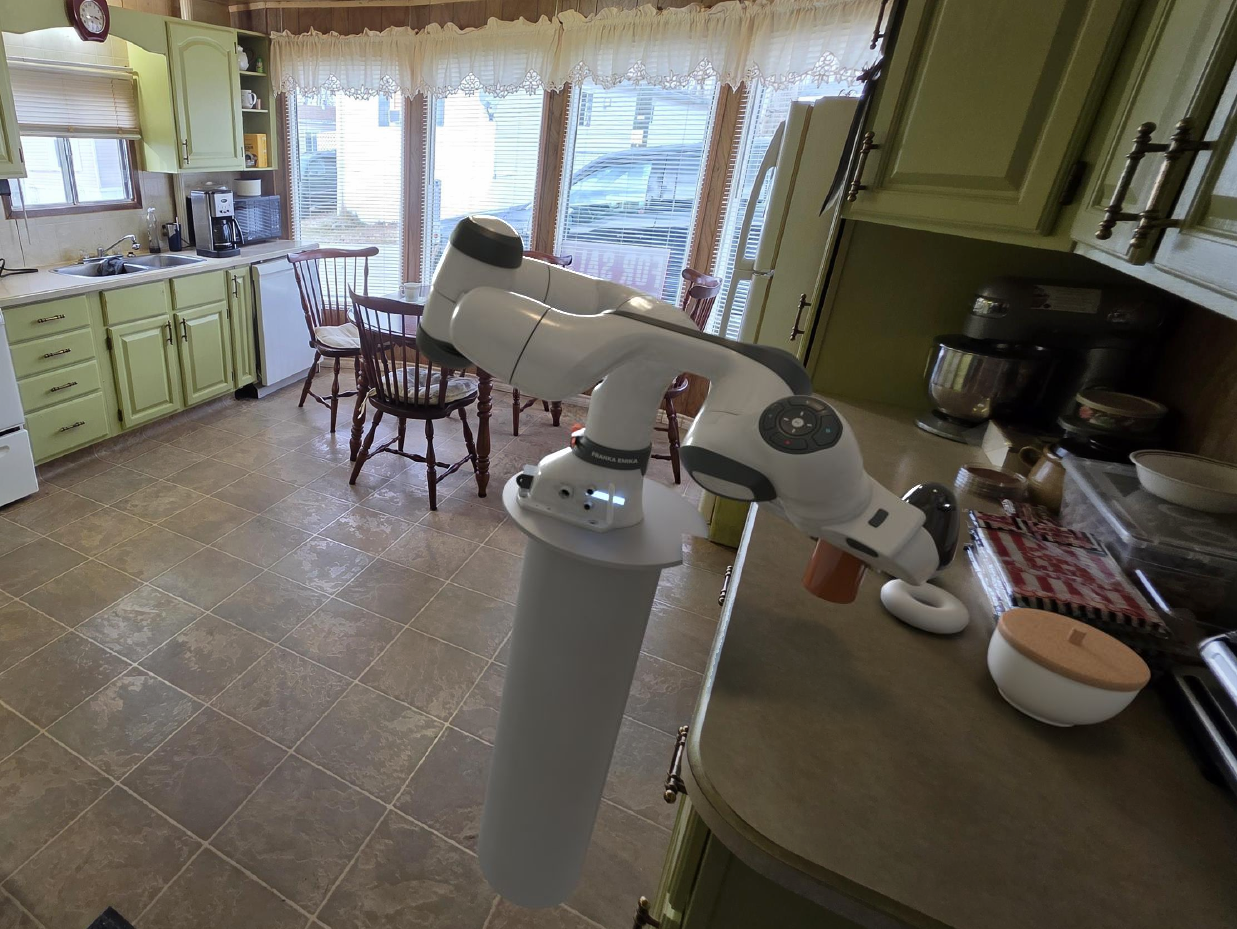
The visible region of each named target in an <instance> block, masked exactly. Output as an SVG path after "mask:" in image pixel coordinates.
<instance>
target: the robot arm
mask: <svg viewBox="0 0 1237 929" xmlns="http://www.w3.org/2000/svg"><path fill="white" fill-rule="evenodd" d="M522 238H523V237H522V235H521V234H520V233H519V232H518V231H517V230H516V229H514V228H513V227H512V226H511V225H510V224H509V223H507V222H506V221H504V220H503V219H500V218H499V217H496V216H491V215H476V214H471V215H467V216H466V217H463V218H461V219H459V221H458V222H457V223H456V225H455V226H454V227H453V229H452V231H451V233H450V234H449V236H448V239H447V240H448V243H447V245H446V247H445V248H444V250H443V253H442V255H441V257H440V259H439V262H438V263H437V265H436V268H435V271H434V273H433V275H432V277H431V280H430V287H429V290H428V293H427V297H426V298H425V303H424V307H423V311H422V315H421V319H420V320H418V323H417V328H416V335H415V345H416V346H417V348H418V349H419V351H420V353H421V355H422V356H423V357H424V358H426V359H427V360H428V361H429V362H431V363H433V364H435V365H437V366H439V367H442V368H445V369H449V370H456V371H459V370H460V371H461V370H465V369H468V368H472V367H473V366H475V365H476V366H477V367H478V368H480V369H482V371H484V372H486V373H487V374H489V375H491V376H492V377H494V378H496V379H497V380H499V381H501V382H503V383H505V384H506V385H508V386H511V387H512V388H514V389H517V391H520V392H522V393H523V394H526V395H528V396H530V397H533V398H535V399H539V400H541V401H545V402H559V401H565V400H570V399H572V398H574V397H577V396H579V395H582V394H583V393H584V392H587V391H588V390H590V389H591V388H593V387H594V386H595V385H596V384H598V383H599V382H600V383H599V384H598V385H596V386H595V387H594V389H593V390H592V392H591V394H590V395H591V396H590V401H589V407H588V412H587V415H586V421H585V426H584V427H583V426H582V424H580V423H575V424H573V425H572V427H571V429H570V434H571V437H570V442H569V446H568V447H565V448H562V449H561V450H558V451H556V452H554V453H550V454H548V455H546V456H544V457H543V458H542V459H541V460H539V461H540V462H539V463H538V464H537V465H531V464H525V465H524V468H523V470H522V471H523V474H520V475H518V476H517V478H516V482H517V484H518V486H519V488H518V491H517V501H518V503H519V505H520V506H521V507H522V508H524V509H527V510H530V511H533V512H536V513H539V514H542V515H545V516H549V517H552V518H555V519H558V520H561V521H564V522H567V523H570V524H573V525H576V526H579V527H582V528H585V529H588V530H591V531H595V532H598V533H604V532H607V531H609V530H612V529H615V528H625V527H630V526H633V525H636V524H638V523H639V522H640V521H641V520H642V519H643V506H642V493H643V480H644V477H645V475H646V474H647V471H648V470H649V467H650V461H651V457H652V453H653V442H652V439H653V435H654V430H655V425H656V422H657V418H658V414H659V410H660V407H661V404H662V401H663V399H664V398H665V396H666V393H667V392H668V390H669V388H670V386H671V384H673V382H674V380H675V379H676V378H678V377H679V376H681V375H683V374H684V373H689V374H692V375H695V376H699V377H702V378H705V379H707V380H708V381H710V383H711V385H712V386H711V388H710V390H709V392H708V394H707V396H706V397H705V400H704V402H703V403H702V405H701V407H700V409H699V411H698V412H697V415H696V416H695V417H694V419H693V421H692V422H691V425H690V426H689V428H688V430H687V432H686V434H685V436H684V438H683V440H682V442H681V444H680V447H679V448H678V457H679V461H680V462H681V465H682V467H683V468H684V470H685V471H686V473H687V474H688V475H689V477H690V478H691V479H692V481H693V482H694V483H696V484H697V485H698V486H699V487H701V488H702V489H703V490H705V491H706V492H708V493H710V494H712V495H714V496H717V497H720V498H722V499H726V500H729V501H734V502H738V503H739V502H740V503H755V504H756V505H757V506H758V507H759V508H761V509H762V510H764V511H765V512H767V513H769V514H771V515H773V516H775V517H777V518H778V519H781V520H783V521H784V522H787V523H789V524H791V525H793V526H794V528H796V529H797V530H799V531H800V532H801V533H803V534H805V535H806V537H807V539H810V540H812V541H814V542H817V540H818V538H820V539H822V540H824V541H826V542H828V543H830V544H832V545H834V546H836V547H838V548H840V549H842V550H844V551H845V552H847V553H849V554H851V555H853V556H855V557H857V558H859V559H861V560H863V561H864V565H865V567H866V568H868V570H870V571H872V572H874V573H875V574H880V573H881V572H882V571H883V572H885V573H887V574H889V575H891V576H893V577H895V578H896V579H900V580H902V581H904V582H906V583H908V584H910V585H912V586H922V585H923V584H924V583H927V581H929V580H930V579H929V578H930V577H931V576H932V574H933V573H934V572H935V570H936V569H937V567H938V565H939V556H938V552H937V549H936V546H935V543H934V540H933V538H932V537H931V535H930V534H929V533H928V531H927V530H926V529H924V528H923V527H922V525H923V524H924V522H925V520H926V516H925V514H924V513H923V512H922V511H921V510H920V509H918V508H916V507H915V506H913V505H911V504H910V503H908V502H906V501H905V500H903V499H901V498H900V497H901V496H900V497H899V496H898V495H897V494H895V493H893V492H891V491H890V490H888V489H887V488H886V487H885V486H883V485H882V484H881V483H879V481H877V480H876V479H874V478H873V476H871V475H869V474H868V473H867V471H866V469H865V468H864V459H863V453H862V451H861V448H860V445H859V442H858V439H857V436H856V435H855V432H854V430H853V428H852V427H851V425H850V424H849V422H848V421H847V420H846V418H845V417H844V416H843V414H841V413H840V412H839V411H838V410H837V409H836V408H835V407H834V406H833V405H831V403H829V402H827V401H825V400H823V399H822V398H821V399H820V398H818V397H815V396H812V395H813V393H814V385H813V382H812V379H811V377H810V375H809V373H808V371H807V369H806V367H805V366H804V364H803V363H802V361H801V360H800V359H799V358H798V357H797V356H795V355H794V354H792V353H791V352H789V351H787V350H784V349H782V348H779V347H776V346H771V345H766V344H765V345H764V344H760V343H759V344H757V343H750V342H745V341H744V342H743V341H738V340H733V339H729V338H726V337H723V336H720V335H719V336H718V335H715V334H713V333H708V332H705V331H701V329H700V328H699V326H698V325H697V323H696V322H695V321H694V320H693V319H692V318H691V317H690V316H689V315H688V314H687V313H686V312H685V311H684V310H683V309H682V308H680V307H677V306H676V305H673V304H671V303H669V302H667V301H665V300H663V299H661V298H659V297H657V296H655V295H653V294H650V293H648V292H647V291H644V290H642V289H640V288H636V287H633V286H629V285H626V284H622V283H619V282H615V281H612V280H607V279H602V278H599V277H594V276H590V275H587V274H583V273H580V272H577V271H573V270H570V269H567V268H564V267H561V266H558V265H554V264H551V263H548V262H545V261H542V260H539V259H534V258H531V257H526V256H524V252H525V244H524V241H523V239H522ZM601 380H603V381H602V382H601ZM521 479H522V480H521ZM928 579H929V580H928Z"/></svg>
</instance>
